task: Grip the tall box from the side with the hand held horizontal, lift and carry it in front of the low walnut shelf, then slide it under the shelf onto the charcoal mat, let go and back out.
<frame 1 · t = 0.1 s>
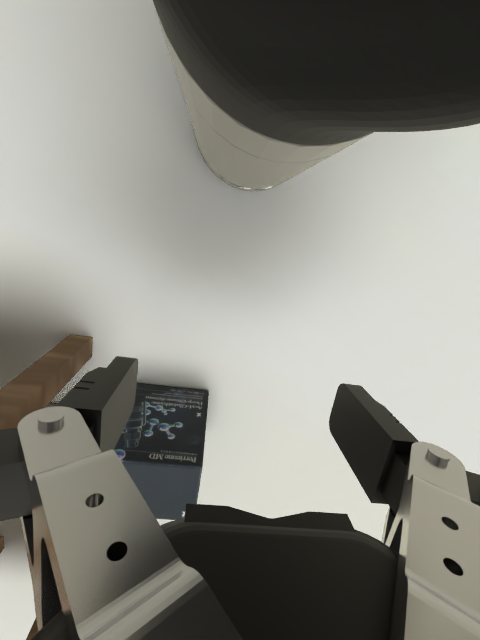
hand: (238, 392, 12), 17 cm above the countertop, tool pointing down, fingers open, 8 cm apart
low shelf: (33, 454, 33), on the countertop
box: (169, 406, 32), on the countertop
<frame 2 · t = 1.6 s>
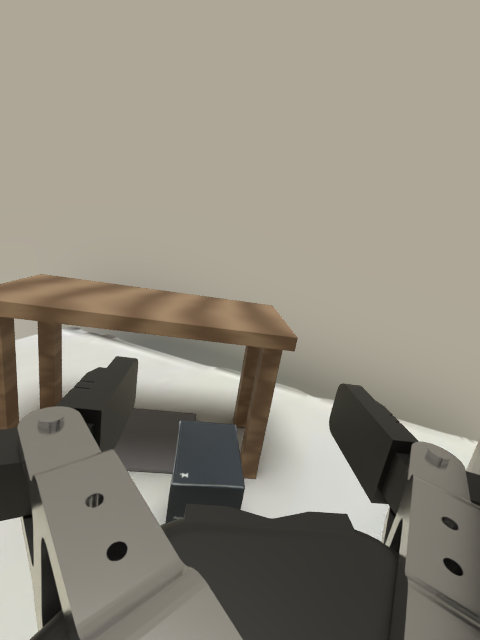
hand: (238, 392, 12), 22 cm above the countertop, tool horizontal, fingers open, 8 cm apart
charcoal mat: (141, 436, 41), on the countertop
low shelf: (141, 436, 41), on the countertop
box: (193, 543, 28), on the countertop
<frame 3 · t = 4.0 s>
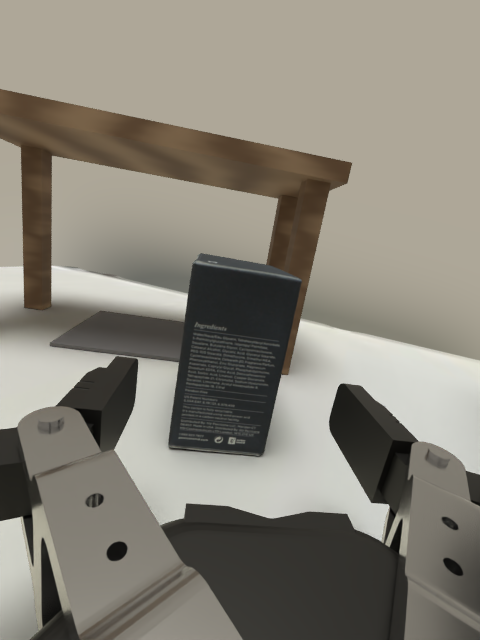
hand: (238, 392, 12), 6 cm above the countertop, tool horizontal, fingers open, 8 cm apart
charcoal mat: (145, 335, 33), on the countertop
low shelf: (145, 335, 33), on the countertop
box: (215, 417, 21), on the countertop
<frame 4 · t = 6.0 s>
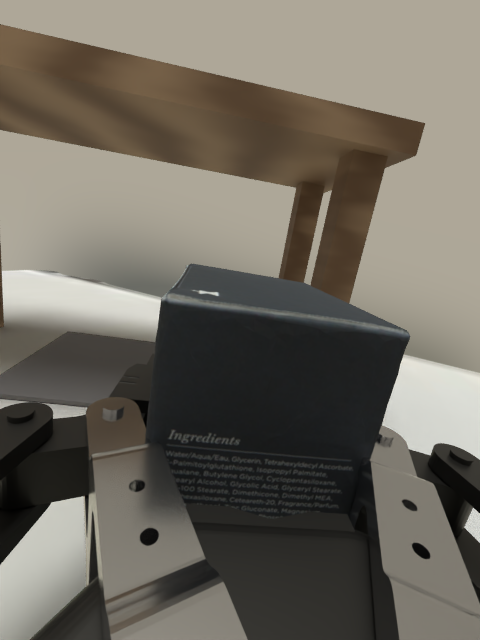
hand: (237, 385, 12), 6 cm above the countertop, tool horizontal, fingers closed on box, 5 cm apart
charcoal mat: (121, 367, 25), on the countertop
low shelf: (121, 367, 25), on the countertop
box: (215, 537, 12), on the countertop, touching gripper
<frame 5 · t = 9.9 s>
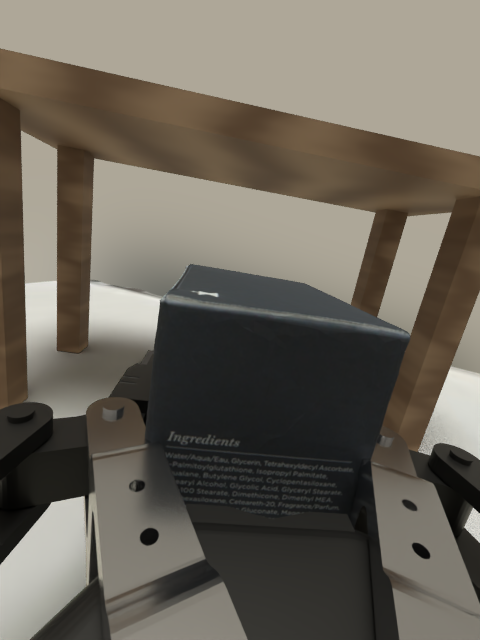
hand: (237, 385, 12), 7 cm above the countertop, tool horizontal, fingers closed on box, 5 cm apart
low shelf: (214, 389, 26), on the countertop
box: (215, 538, 12), point 1 cm above the countertop, touching gripper
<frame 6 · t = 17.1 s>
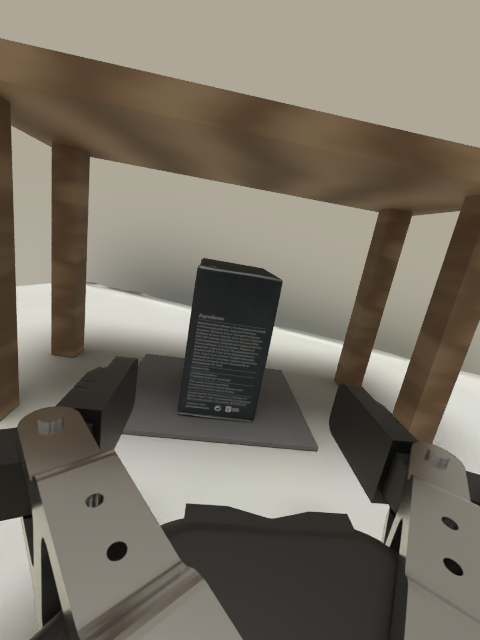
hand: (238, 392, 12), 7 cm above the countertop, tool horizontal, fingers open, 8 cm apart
charcoal mat: (214, 394, 25), on the countertop
low shelf: (214, 394, 25), on the countertop
box: (215, 394, 25), resting on charcoal mat
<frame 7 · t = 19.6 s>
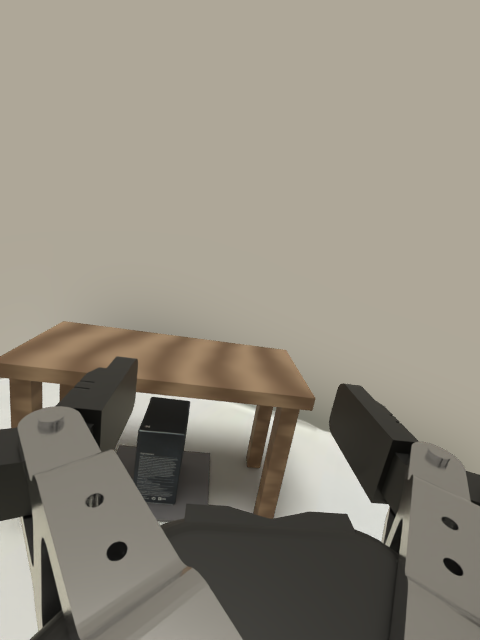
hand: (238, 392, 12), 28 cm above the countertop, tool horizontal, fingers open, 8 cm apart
charcoal mat: (158, 481, 41), on the countertop
low shelf: (158, 481, 41), on the countertop
box: (158, 481, 41), resting on charcoal mat
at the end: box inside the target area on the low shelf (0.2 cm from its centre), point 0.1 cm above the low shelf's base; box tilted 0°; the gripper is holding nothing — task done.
